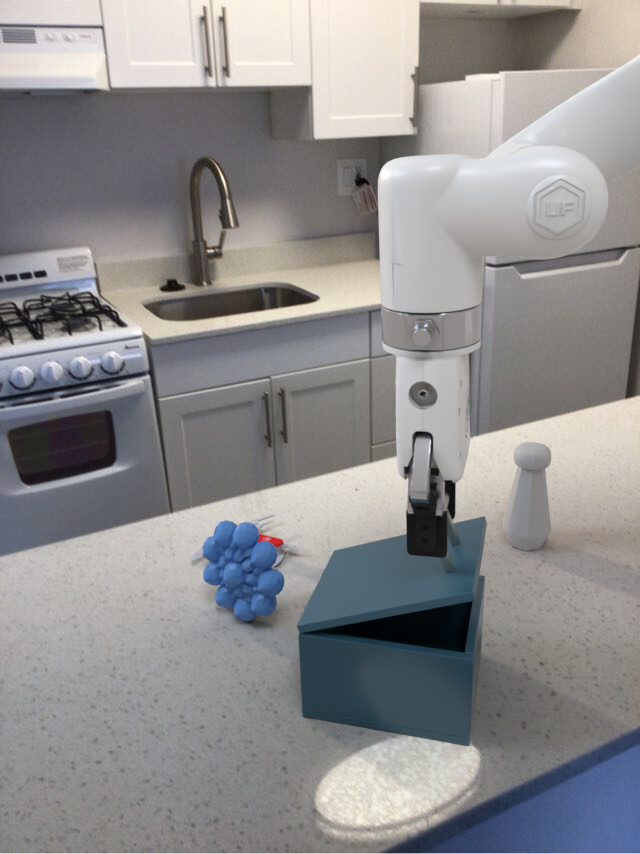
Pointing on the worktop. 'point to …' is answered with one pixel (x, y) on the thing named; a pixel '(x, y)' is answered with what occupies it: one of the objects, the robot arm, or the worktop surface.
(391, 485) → the worktop surface
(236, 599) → the grapes
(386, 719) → the teal box
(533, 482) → the salt shaker
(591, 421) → the worktop surface
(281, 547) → the swiss army knife
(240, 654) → the worktop surface
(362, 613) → the lid
